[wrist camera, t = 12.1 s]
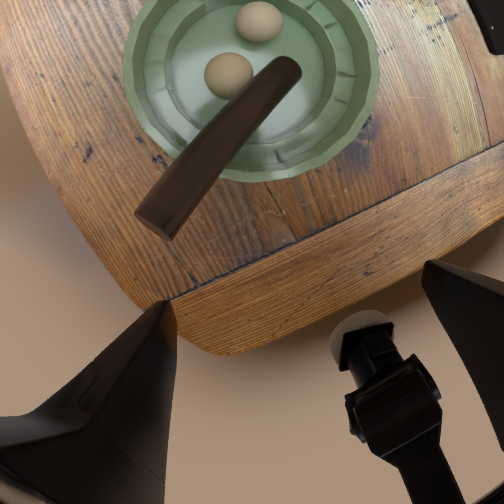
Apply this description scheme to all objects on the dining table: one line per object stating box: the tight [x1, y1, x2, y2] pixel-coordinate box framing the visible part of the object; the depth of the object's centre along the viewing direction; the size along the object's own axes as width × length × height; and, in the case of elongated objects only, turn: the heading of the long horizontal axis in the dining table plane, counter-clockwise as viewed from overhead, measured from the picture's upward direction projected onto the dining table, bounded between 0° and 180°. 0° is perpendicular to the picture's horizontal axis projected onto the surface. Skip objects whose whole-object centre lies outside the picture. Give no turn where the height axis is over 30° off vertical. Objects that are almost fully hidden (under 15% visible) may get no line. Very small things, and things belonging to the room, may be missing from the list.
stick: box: [134, 56, 302, 241], centre depth 14 cm, size 2×2×13 cm
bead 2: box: [235, 1, 283, 42], centre depth 14 cm, size 3×3×3 cm
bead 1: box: [204, 52, 253, 97], centre depth 15 cm, size 3×3×3 cm
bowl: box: [122, 0, 380, 183], centre depth 15 cm, size 14×14×5 cm
